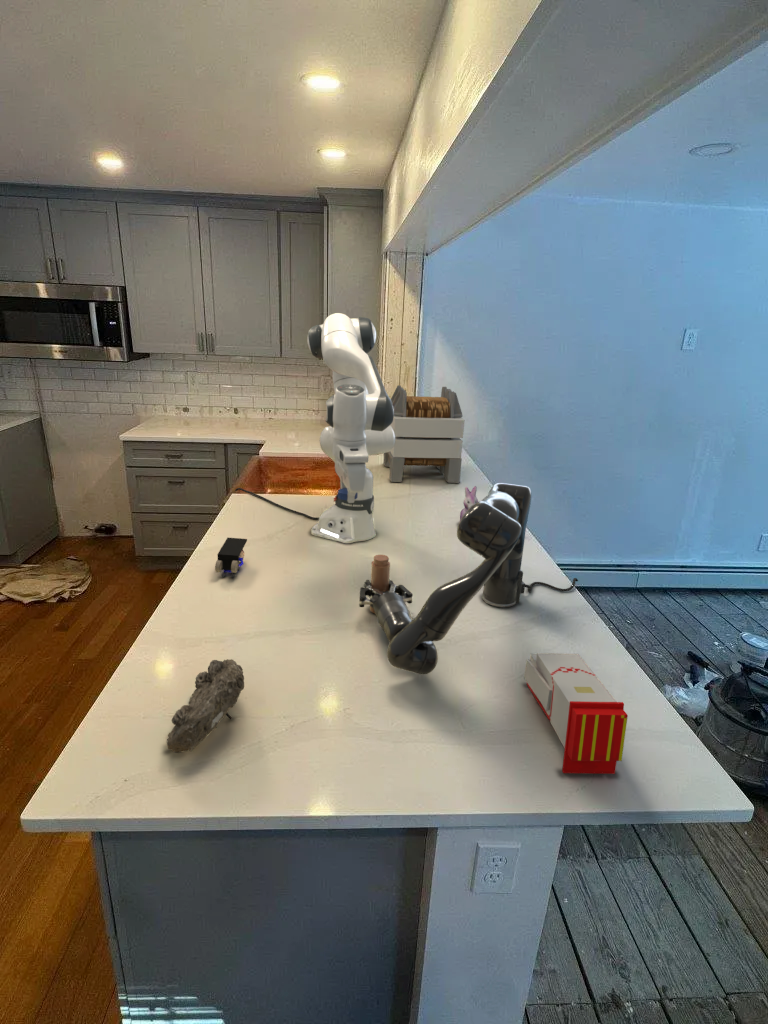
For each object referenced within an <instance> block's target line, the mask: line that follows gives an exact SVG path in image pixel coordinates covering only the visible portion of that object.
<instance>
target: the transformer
mask: <svg viewBox="0 0 768 1024" xmlns="http://www.w3.org/2000/svg"><path fill="white" fill-rule="evenodd" d="M440 393H441V394H440V396H415V395H414V396H413V395H412V396H411V395H407V394H408V393H407V390H406V389H404V388H403V387H402V385H399V384H398V385H397V386H396V388H395V390H394V392H393V394H392V395H391V398H390V399H391V401H392V405H393V409H394V417H393V422H392V423H391V425H390V426H391V427H392V429H393V431H394V433H395V444H394V446H393V448H392V450H391V451H390V452H387V453H383V466H384V467H388V468H389V475H388V476H389V477H388V478H389V480H390V482H391V483H402V482H403V475H404V469H405V466H406V467H407V466H411V467H412V466H413V467H415V466H416V467H417V466H418V467H436V468H437V470H438V469H439V473H440V474H441V475H443V478H444V479H445V481H446V482H447V483H449V484H455V483H456V484H459V483H461V472H462V461H463V460H462V453H463V442H464V441H463V440H462V439H463V438H464V431H465V430H464V429H465V419H464V418H463V411H462V408H461V405H460V402H459V398H458V395H457V392H455V391H453V390H452V389H451V388H447V386H442V387H441V392H440Z"/></svg>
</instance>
